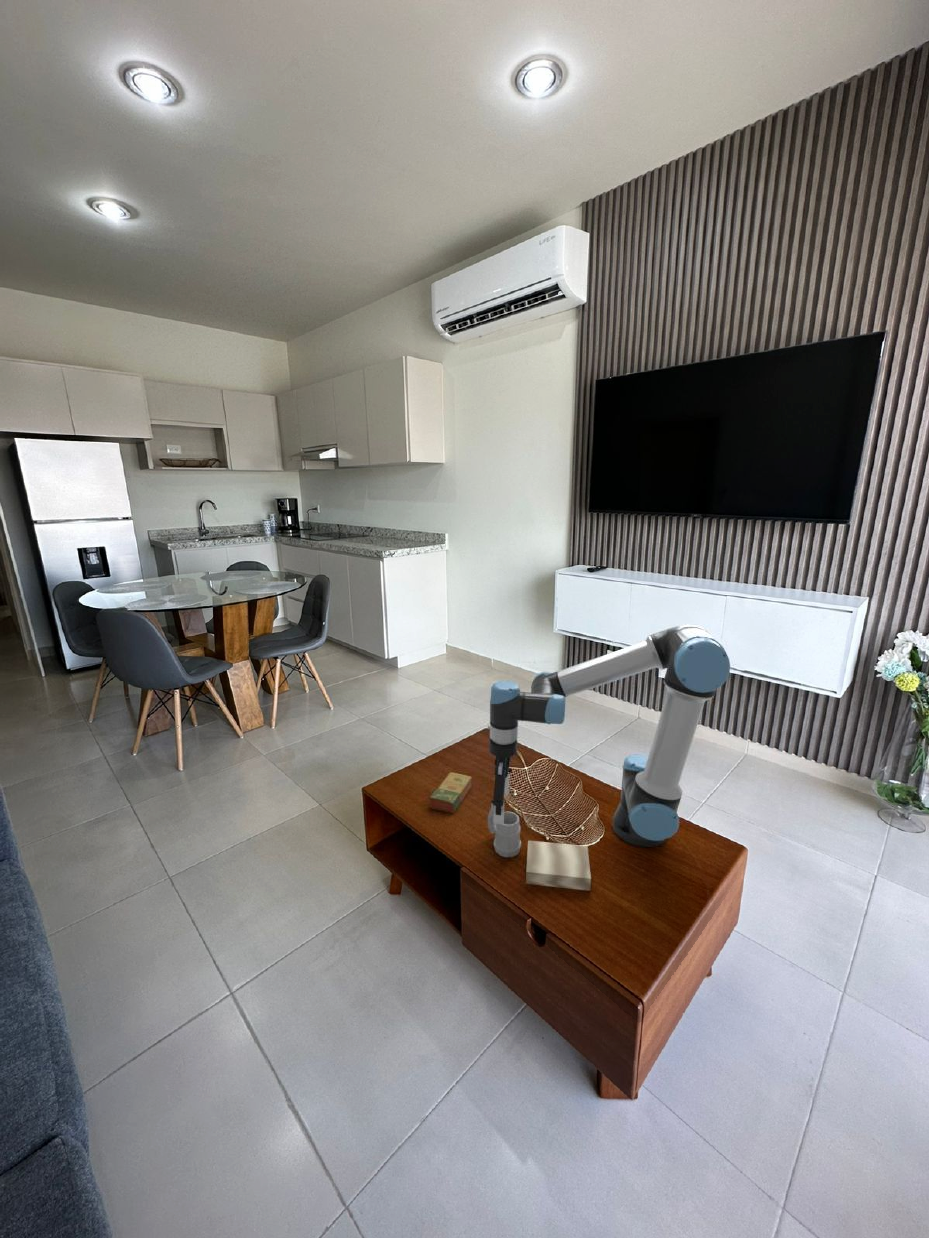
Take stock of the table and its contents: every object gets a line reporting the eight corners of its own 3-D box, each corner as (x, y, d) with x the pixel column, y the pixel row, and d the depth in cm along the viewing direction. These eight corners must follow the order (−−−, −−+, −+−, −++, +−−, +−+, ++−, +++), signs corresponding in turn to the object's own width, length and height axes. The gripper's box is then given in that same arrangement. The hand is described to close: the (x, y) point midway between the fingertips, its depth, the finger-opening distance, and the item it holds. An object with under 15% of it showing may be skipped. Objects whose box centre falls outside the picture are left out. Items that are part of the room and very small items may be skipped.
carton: (472, 787, 172) (472, 776, 171) (453, 814, 158) (453, 802, 157) (449, 782, 175) (449, 770, 174) (429, 808, 161) (429, 796, 160)
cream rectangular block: (586, 858, 139) (587, 846, 138) (590, 892, 128) (590, 878, 127) (527, 852, 142) (528, 840, 141) (526, 884, 130) (526, 871, 129)
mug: (506, 862, 137) (507, 824, 134) (478, 839, 146) (478, 803, 143) (526, 850, 142) (527, 812, 139) (498, 828, 151) (498, 793, 148)
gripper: (495, 716, 149) (493, 781, 154) (482, 760, 125) (481, 835, 130) (521, 719, 147) (518, 784, 153) (513, 764, 124) (510, 838, 129)
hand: (501, 807), depth 141 cm, fingers open, 13 cm apart
